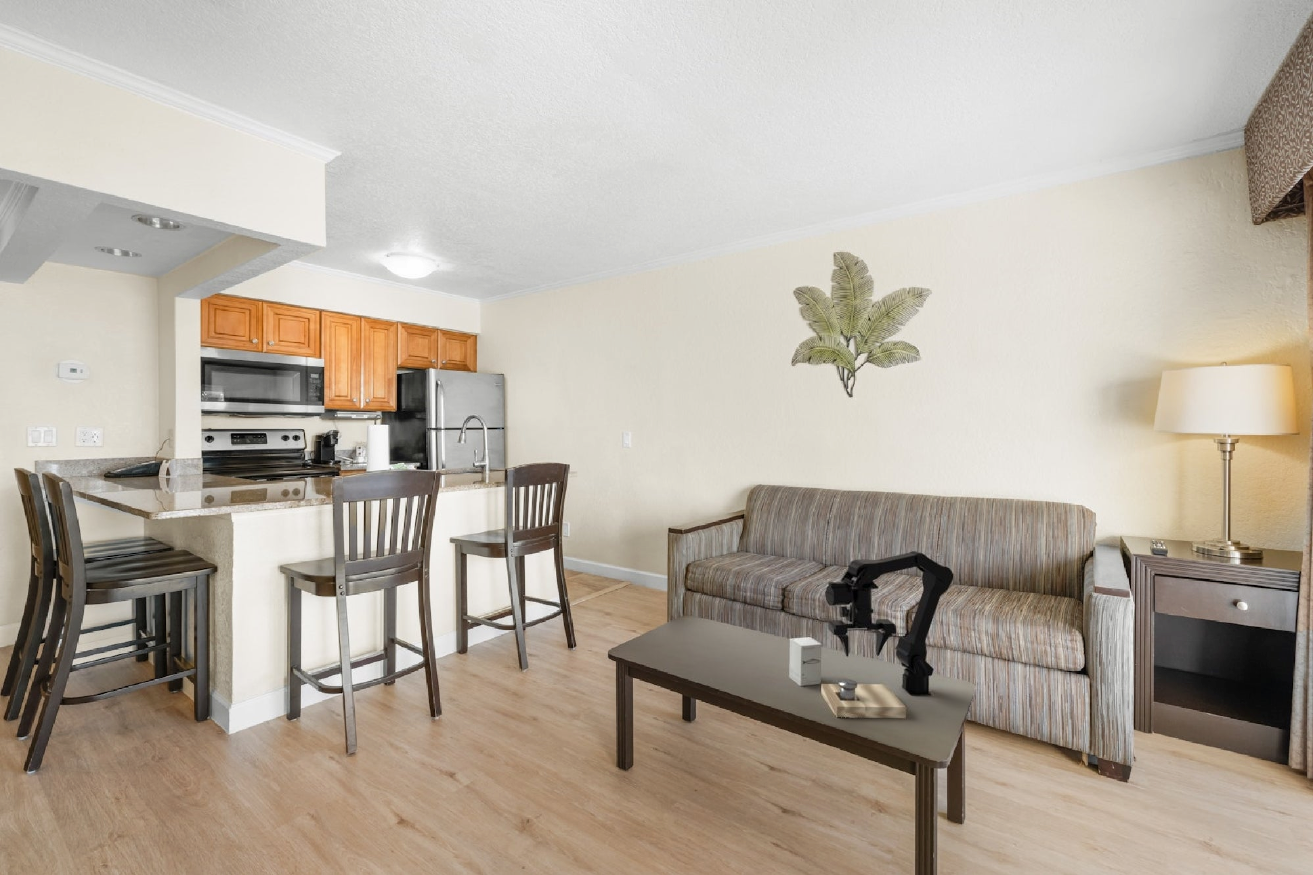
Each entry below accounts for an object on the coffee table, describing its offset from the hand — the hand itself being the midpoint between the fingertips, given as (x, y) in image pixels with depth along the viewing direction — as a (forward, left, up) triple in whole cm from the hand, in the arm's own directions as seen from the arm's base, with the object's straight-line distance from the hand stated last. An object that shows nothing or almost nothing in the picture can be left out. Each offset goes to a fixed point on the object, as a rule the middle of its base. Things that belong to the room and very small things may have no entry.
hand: (862, 655), depth 178 cm
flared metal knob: (+7, +8, -12) cm, 16 cm away
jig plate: (+3, +7, -12) cm, 14 cm away
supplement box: (+15, -10, -12) cm, 21 cm away
